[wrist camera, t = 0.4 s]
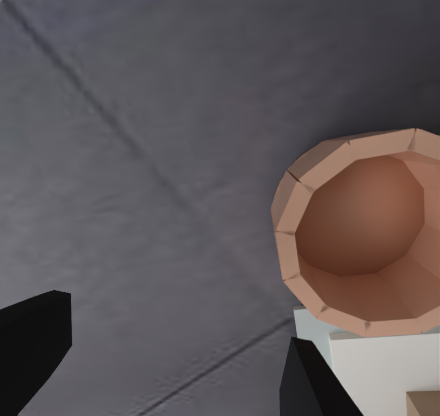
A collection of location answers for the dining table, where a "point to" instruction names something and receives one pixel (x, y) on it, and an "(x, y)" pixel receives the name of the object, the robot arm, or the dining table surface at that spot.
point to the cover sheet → (389, 372)
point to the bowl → (364, 231)
